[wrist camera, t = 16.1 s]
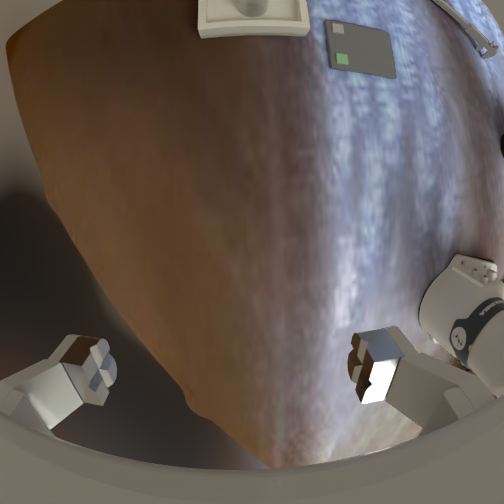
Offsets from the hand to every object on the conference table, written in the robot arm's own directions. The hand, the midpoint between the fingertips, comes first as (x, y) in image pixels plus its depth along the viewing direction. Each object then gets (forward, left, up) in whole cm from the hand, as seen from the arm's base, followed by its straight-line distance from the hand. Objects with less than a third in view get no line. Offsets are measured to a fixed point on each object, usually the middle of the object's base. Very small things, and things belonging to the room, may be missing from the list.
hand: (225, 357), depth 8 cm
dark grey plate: (-18, -23, -29) cm, 41 cm away
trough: (-3, -29, -29) cm, 41 cm away
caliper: (-40, -37, -29) cm, 62 cm away
